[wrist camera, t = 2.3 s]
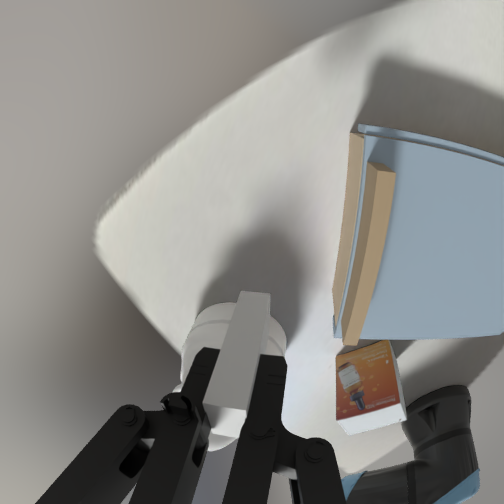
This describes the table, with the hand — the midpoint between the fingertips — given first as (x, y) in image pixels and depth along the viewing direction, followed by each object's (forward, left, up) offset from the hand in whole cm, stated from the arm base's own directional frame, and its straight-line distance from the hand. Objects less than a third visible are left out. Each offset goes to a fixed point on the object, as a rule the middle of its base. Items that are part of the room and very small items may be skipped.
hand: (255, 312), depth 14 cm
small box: (-20, -13, -15) cm, 29 cm away
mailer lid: (0, -17, -11) cm, 20 cm away
